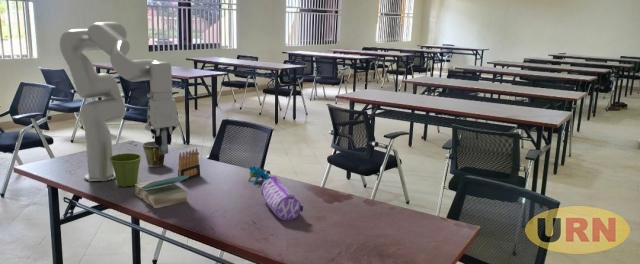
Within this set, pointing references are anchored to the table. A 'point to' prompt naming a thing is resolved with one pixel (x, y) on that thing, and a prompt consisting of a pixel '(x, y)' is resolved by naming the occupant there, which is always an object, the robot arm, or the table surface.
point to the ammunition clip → (189, 165)
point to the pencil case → (280, 199)
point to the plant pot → (126, 168)
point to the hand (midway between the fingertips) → (163, 144)
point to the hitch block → (161, 194)
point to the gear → (257, 174)
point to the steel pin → (163, 141)
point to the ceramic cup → (153, 154)
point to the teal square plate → (164, 182)
